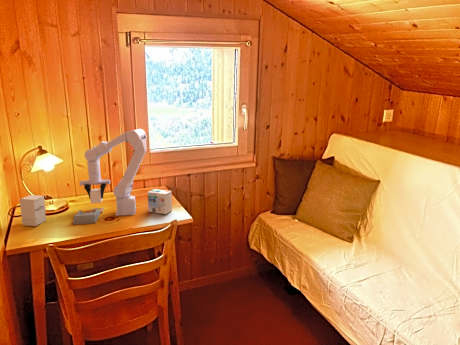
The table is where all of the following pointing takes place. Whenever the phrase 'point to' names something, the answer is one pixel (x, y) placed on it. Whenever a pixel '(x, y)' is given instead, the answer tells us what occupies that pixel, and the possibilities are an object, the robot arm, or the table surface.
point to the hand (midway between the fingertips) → (96, 198)
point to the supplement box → (33, 210)
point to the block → (95, 196)
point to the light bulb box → (159, 201)
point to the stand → (96, 209)
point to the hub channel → (86, 217)
